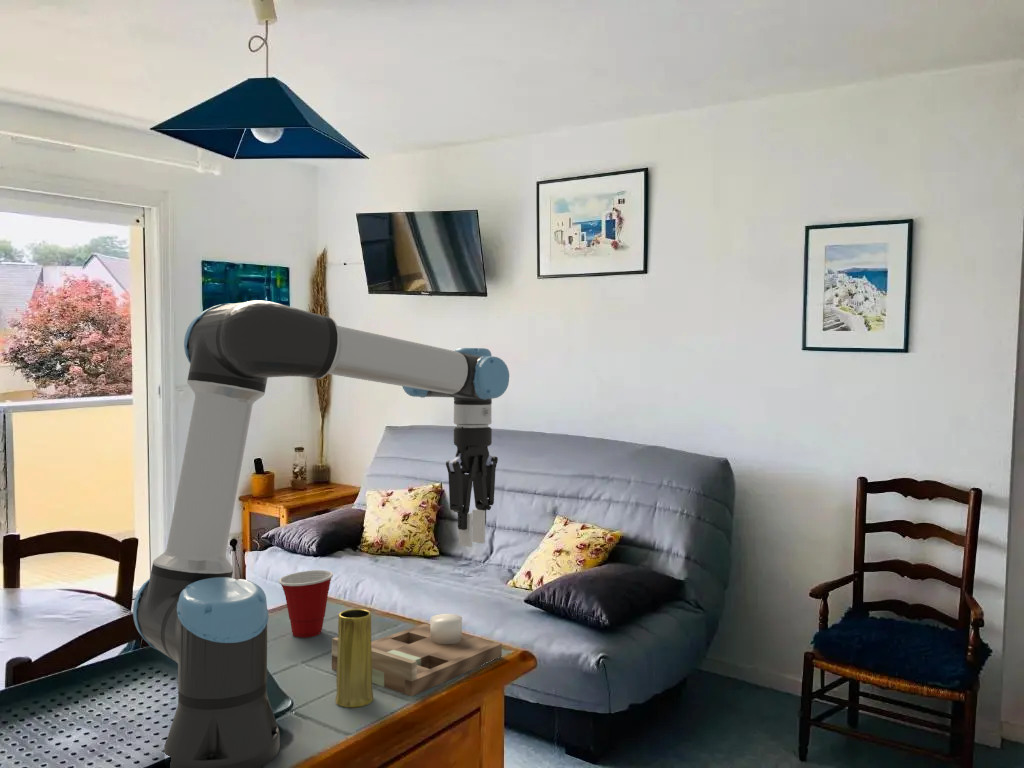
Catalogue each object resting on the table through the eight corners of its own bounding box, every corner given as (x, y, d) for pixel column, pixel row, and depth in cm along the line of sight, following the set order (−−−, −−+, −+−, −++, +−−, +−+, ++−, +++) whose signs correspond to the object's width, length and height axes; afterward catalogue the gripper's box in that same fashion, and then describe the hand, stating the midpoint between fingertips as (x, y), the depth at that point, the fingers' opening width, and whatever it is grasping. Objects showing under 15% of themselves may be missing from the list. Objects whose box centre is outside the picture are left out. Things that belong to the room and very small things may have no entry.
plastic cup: (283, 625, 171) (283, 569, 171) (335, 624, 172) (335, 568, 172) (273, 642, 160) (274, 582, 160) (329, 641, 162) (329, 581, 162)
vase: (370, 691, 136) (370, 606, 136) (376, 705, 130) (376, 617, 130) (333, 696, 134) (333, 609, 134) (337, 710, 128) (338, 620, 128)
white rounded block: (447, 646, 151) (447, 625, 151) (423, 639, 155) (423, 619, 155) (468, 638, 156) (468, 617, 156) (445, 632, 160) (445, 611, 160)
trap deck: (411, 696, 134) (411, 663, 134) (331, 669, 146) (331, 638, 146) (501, 657, 153) (501, 627, 153) (424, 635, 165) (424, 608, 165)
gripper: (459, 428, 152) (458, 553, 153) (513, 424, 165) (512, 540, 166) (430, 427, 157) (429, 548, 157) (484, 423, 170) (483, 535, 170)
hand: (472, 543), depth 161 cm, fingers open, 3 cm apart
